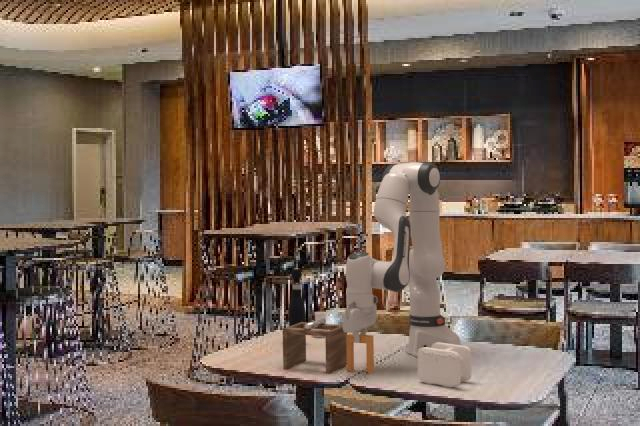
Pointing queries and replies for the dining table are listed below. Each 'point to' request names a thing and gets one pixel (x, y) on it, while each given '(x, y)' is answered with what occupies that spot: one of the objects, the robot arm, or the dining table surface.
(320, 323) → the hook rod
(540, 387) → the dining table surface
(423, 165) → the robot arm
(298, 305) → the wine bottle
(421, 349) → the cable organizer
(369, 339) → the wooden u-shaped block
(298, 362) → the walnut shelf
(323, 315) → the salt shaker
